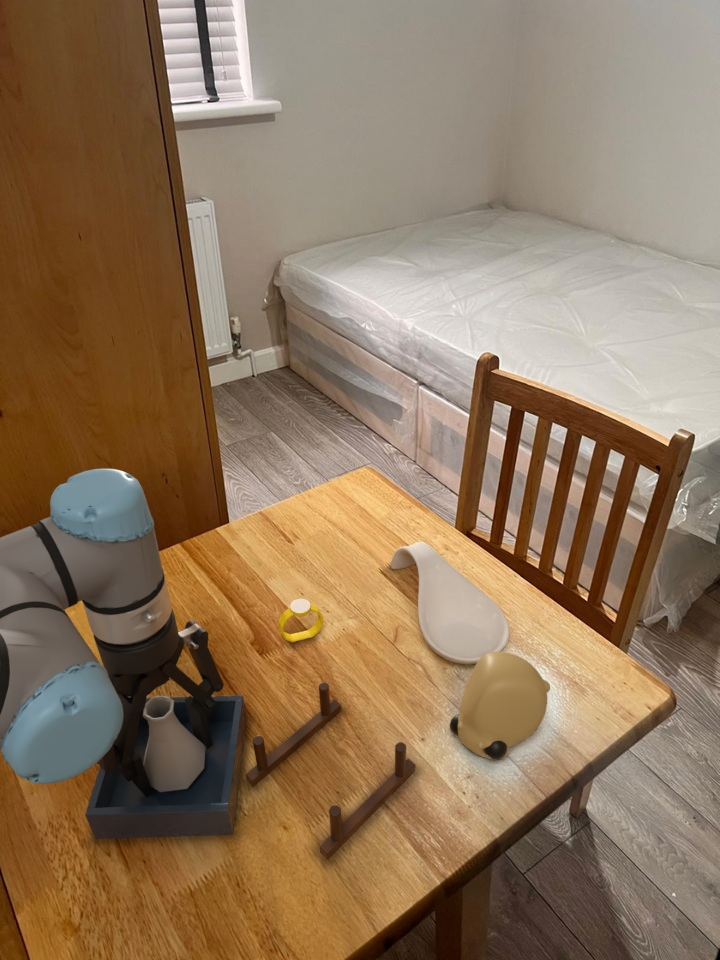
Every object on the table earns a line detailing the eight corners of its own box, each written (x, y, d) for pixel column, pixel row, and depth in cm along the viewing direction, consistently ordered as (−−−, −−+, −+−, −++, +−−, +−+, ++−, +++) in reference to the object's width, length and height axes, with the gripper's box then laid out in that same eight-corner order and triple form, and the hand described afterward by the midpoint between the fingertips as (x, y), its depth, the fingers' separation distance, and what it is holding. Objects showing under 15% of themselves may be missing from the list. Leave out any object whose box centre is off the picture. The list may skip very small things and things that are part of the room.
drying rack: (327, 860, 75) (324, 828, 72) (246, 780, 83) (240, 748, 79) (415, 770, 83) (416, 738, 80) (334, 705, 91) (332, 673, 87)
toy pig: (463, 723, 92) (420, 723, 84) (508, 640, 92) (468, 632, 84) (526, 773, 86) (486, 778, 78) (575, 684, 86) (539, 680, 77)
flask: (158, 732, 86) (141, 675, 80) (216, 742, 85) (203, 685, 79) (130, 787, 80) (110, 731, 74) (192, 799, 79) (176, 742, 73)
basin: (232, 834, 77) (227, 810, 75) (95, 839, 77) (84, 815, 75) (247, 719, 89) (243, 694, 87) (128, 723, 89) (120, 698, 87)
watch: (283, 650, 98) (280, 619, 95) (278, 636, 100) (274, 605, 97) (325, 637, 100) (323, 606, 97) (319, 624, 102) (317, 593, 99)
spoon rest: (524, 659, 96) (530, 620, 92) (447, 690, 92) (450, 651, 88) (435, 553, 114) (436, 517, 110) (367, 576, 110) (366, 539, 106)
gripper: (51, 706, 61) (111, 851, 74) (242, 582, 73) (264, 726, 86) (11, 659, 65) (74, 803, 78) (197, 549, 77) (225, 691, 90)
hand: (173, 763), depth 82 cm, fingers closed on flask, 7 cm apart
